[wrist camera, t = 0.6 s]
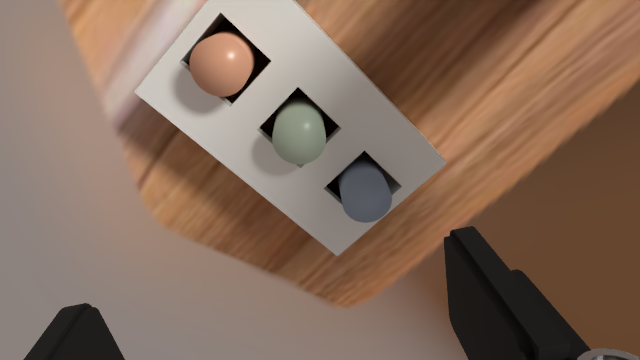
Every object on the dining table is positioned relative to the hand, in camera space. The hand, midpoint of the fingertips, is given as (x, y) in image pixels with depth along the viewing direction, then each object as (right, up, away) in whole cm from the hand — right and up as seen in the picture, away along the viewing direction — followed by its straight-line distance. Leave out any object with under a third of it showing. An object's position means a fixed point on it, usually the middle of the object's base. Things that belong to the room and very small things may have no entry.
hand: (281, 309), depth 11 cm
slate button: (+5, +4, +26) cm, 27 cm away
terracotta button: (-6, +13, +21) cm, 26 cm away
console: (-1, +10, +27) cm, 29 cm away
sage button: (-1, +9, +24) cm, 25 cm away
